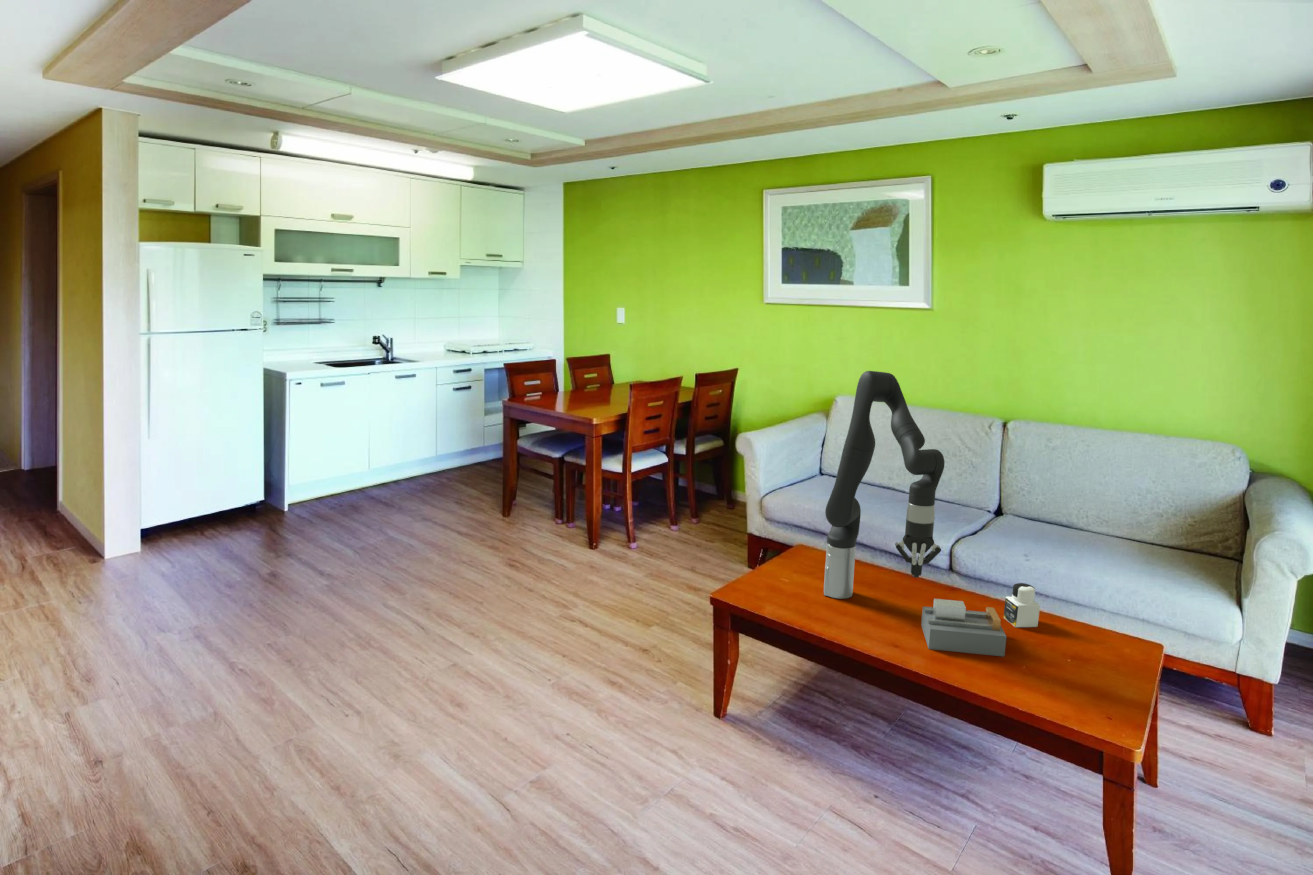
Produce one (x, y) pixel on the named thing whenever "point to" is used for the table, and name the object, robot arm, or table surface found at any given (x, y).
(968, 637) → the channel stand
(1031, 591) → the medicine bottle
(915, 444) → the robot arm
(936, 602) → the aluminium block
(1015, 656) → the table surface
